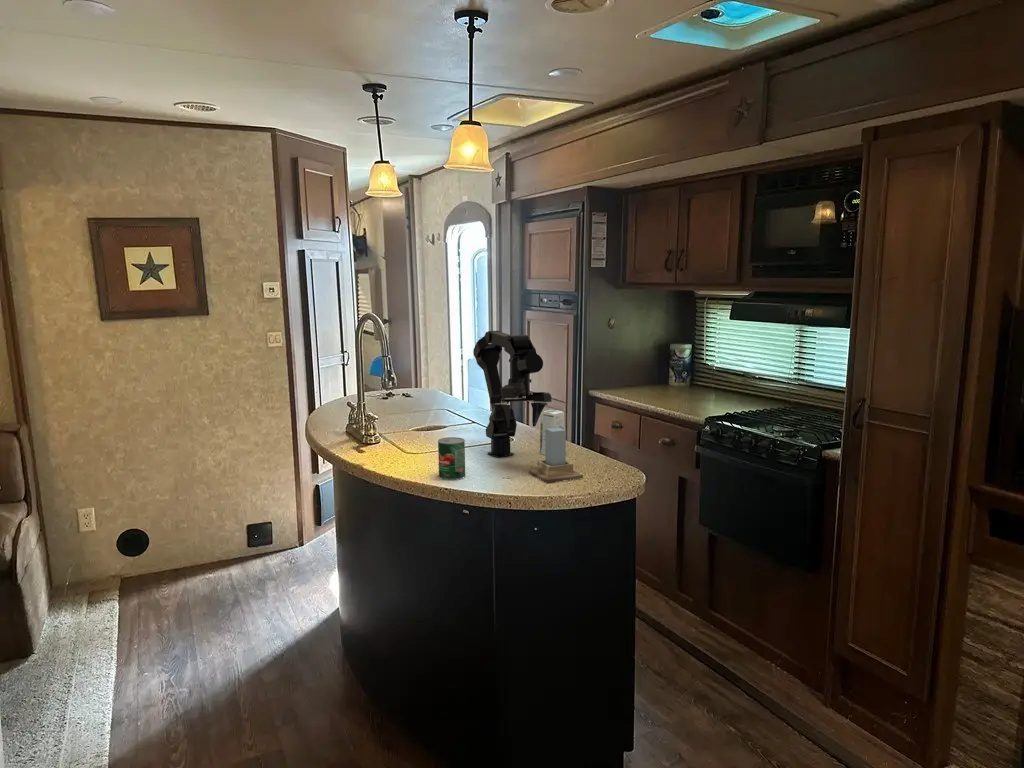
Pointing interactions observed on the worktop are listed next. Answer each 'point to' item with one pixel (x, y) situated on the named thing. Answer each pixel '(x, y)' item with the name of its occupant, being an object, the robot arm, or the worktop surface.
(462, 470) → the canned tomato
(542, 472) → the pocket board
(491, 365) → the robot arm
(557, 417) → the syrup box
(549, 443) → the slate peg
